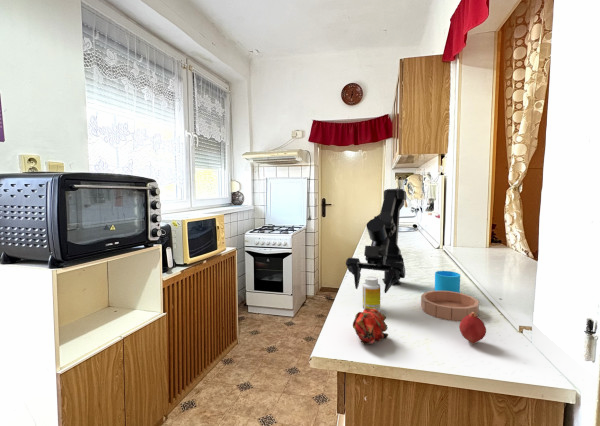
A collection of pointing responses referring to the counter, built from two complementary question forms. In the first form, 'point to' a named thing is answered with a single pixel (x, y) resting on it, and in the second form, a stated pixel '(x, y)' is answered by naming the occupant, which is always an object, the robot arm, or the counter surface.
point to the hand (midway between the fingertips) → (370, 290)
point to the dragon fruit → (370, 325)
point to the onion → (472, 328)
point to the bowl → (449, 305)
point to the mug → (447, 281)
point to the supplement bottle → (371, 293)
